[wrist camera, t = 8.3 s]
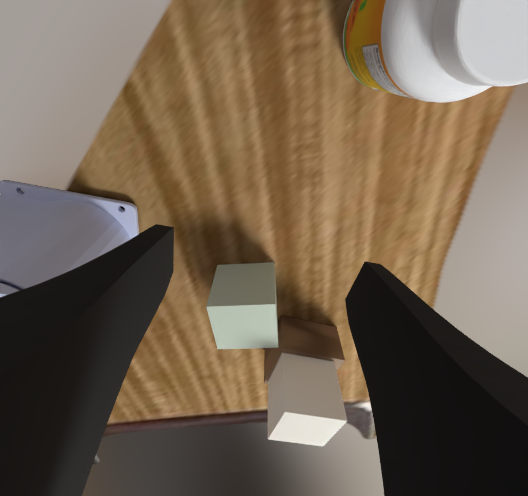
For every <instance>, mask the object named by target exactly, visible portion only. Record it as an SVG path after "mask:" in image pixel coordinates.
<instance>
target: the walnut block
mask: <svg viewBox="0 0 528 496" xmlns="http://www.w3.org/2000/svg"><path fill="white" fill-rule="evenodd" d="M282 353H287V354H293V355H299V356H305V357H310V358H316V359H322V360H328V361H334V363H335V367H336V371H337V370H338V369H339V367H340V366H341V365H342V364H343V362H344V361H345V359H344V355H343V351H342V347H341V343H340V339H339V335H338V331H337V327H333V326H329V325H324V324H319V323H315V322H310V321H305V320H301V319H296V318H291V317H287V316H282V315H281V318H280V320H279V322H278V348H266V349H265V360H264V383H266V384H268V381H269V379H270V377H271V375H272V373H273V371H274V369H275V367H276V365H277V363H278V361H279V359H280V356H281V354H282Z"/></svg>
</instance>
